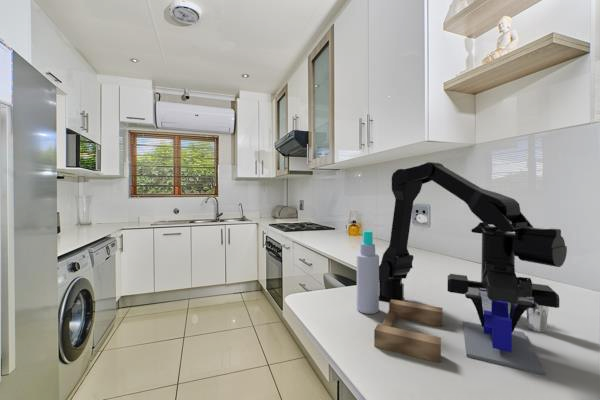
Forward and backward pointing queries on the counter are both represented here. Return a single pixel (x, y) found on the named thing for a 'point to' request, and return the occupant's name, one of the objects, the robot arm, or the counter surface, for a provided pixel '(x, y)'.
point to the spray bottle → (367, 276)
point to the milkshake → (537, 318)
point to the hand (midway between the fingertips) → (496, 328)
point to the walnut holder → (406, 339)
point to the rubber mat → (483, 349)
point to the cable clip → (499, 326)
